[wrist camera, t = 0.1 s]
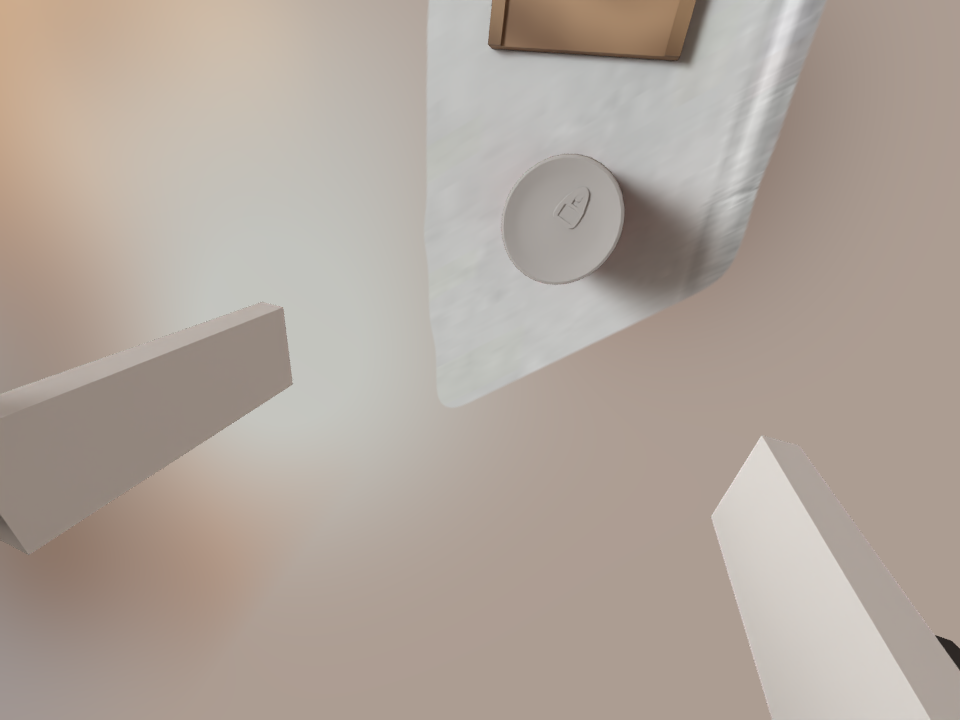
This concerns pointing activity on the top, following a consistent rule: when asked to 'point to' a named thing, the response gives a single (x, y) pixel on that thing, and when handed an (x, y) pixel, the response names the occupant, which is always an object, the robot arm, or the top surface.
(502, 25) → the trivet
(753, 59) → the top surface
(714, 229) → the top surface
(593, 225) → the canned food
